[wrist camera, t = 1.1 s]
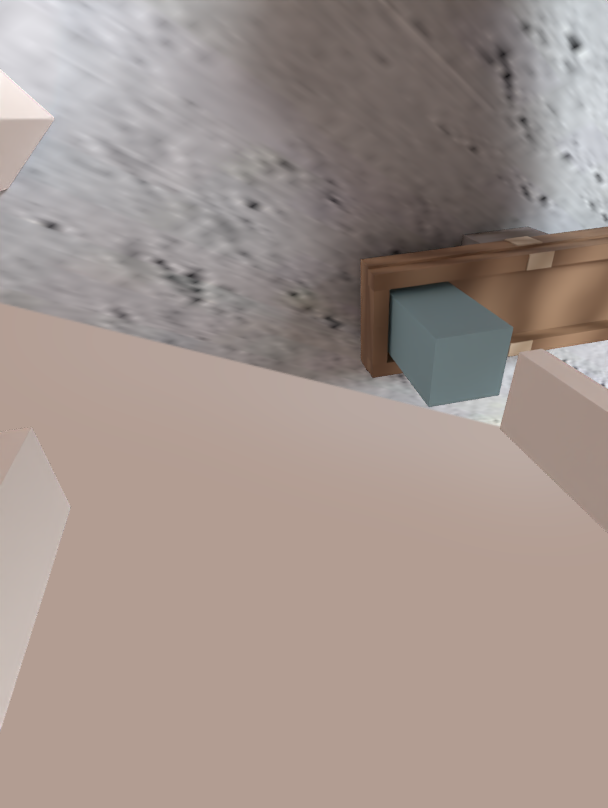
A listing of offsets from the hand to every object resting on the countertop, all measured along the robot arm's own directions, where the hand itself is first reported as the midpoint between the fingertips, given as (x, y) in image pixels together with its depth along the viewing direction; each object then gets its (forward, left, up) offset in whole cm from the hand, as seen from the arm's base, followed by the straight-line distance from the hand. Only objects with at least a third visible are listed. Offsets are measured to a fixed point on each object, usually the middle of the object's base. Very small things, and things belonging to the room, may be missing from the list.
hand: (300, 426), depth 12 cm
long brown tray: (-15, +17, -27) cm, 35 cm away
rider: (-7, +13, -22) cm, 26 cm away
